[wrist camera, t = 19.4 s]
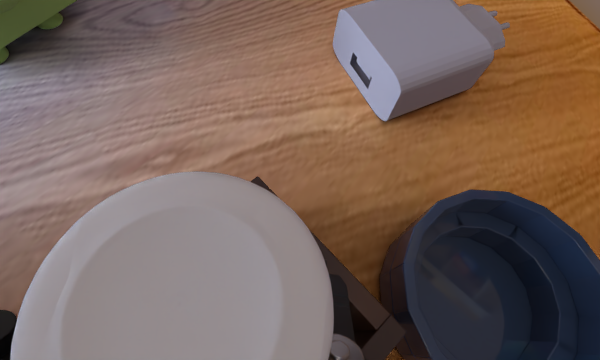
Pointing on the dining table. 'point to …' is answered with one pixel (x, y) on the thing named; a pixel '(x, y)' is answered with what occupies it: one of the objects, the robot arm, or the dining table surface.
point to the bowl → (492, 283)
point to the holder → (362, 308)
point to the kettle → (27, 18)
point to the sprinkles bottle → (181, 279)
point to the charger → (414, 50)
